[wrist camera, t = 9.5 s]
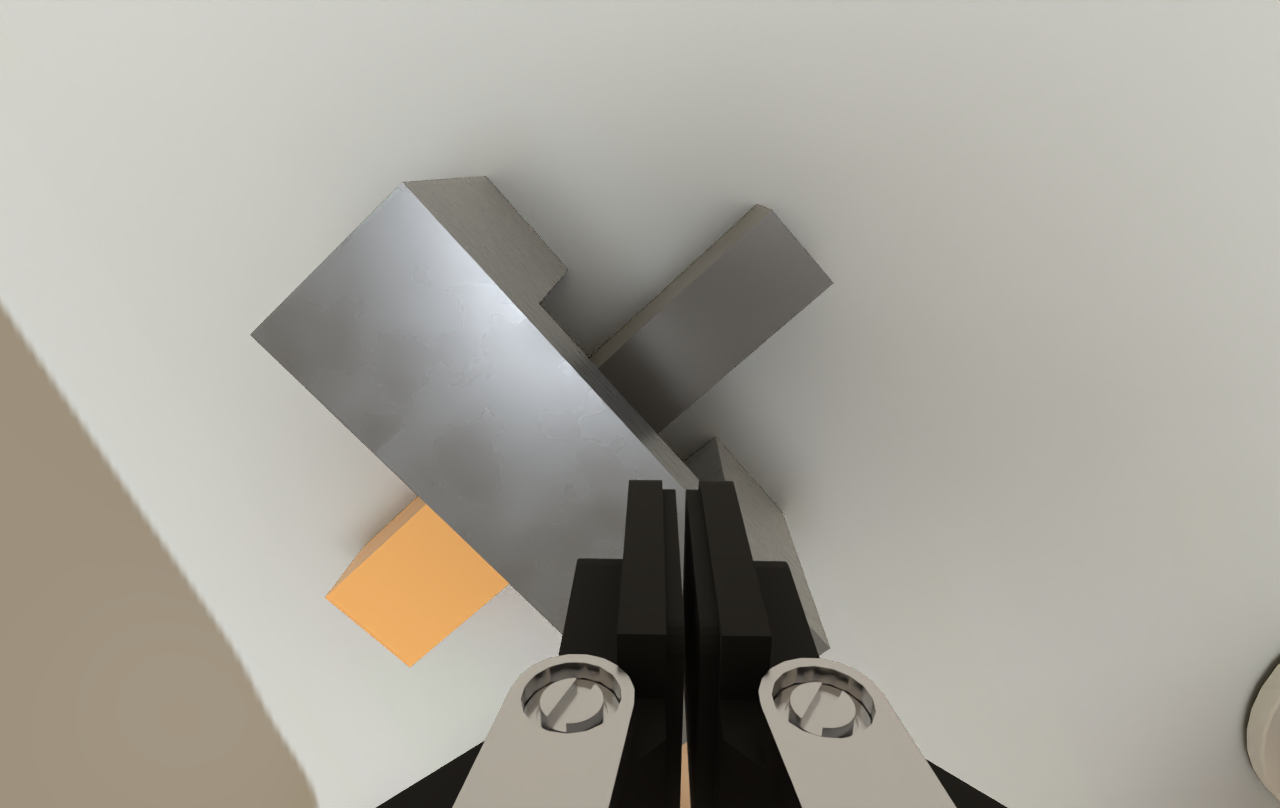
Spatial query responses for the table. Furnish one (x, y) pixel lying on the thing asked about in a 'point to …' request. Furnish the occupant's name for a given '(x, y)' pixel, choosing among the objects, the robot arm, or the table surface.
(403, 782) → the table surface
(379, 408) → the grey slotted block
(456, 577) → the grey and orange bar
